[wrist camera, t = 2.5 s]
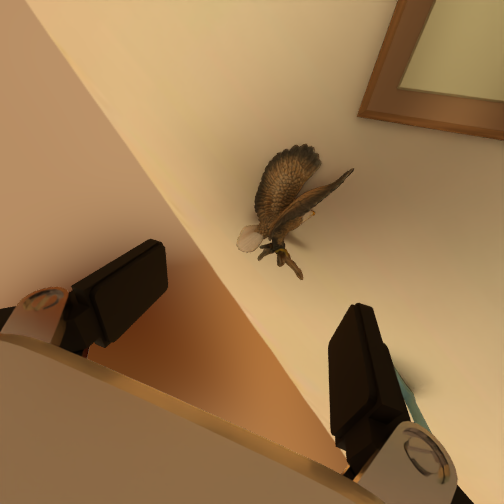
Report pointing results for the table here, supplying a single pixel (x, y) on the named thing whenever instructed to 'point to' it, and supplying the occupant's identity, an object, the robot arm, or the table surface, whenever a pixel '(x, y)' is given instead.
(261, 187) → the eagle figurine
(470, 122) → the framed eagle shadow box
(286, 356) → the table surface
